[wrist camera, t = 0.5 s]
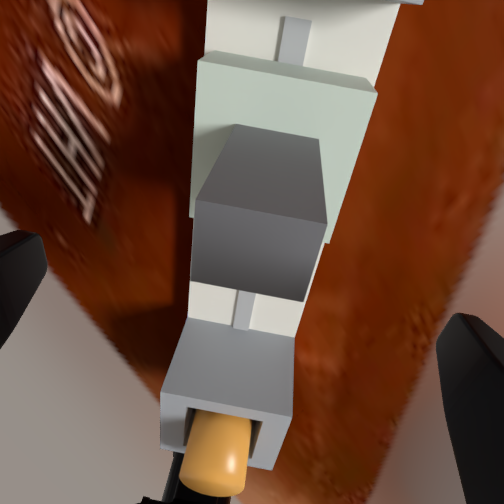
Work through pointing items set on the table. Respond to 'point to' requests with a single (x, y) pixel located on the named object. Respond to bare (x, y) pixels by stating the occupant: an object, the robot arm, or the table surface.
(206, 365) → the rail
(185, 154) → the table surface
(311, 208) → the carriage
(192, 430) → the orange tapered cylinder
